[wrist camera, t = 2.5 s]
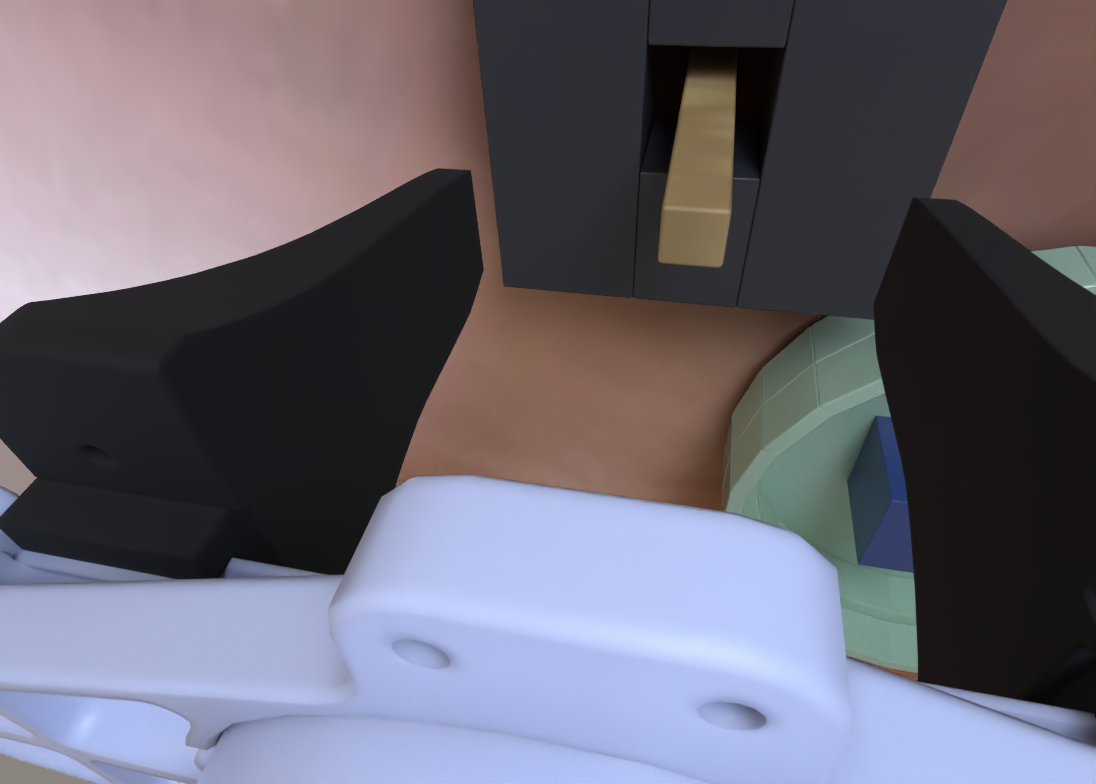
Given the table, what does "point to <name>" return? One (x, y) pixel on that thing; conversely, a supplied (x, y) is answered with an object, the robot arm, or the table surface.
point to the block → (880, 502)
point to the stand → (759, 148)
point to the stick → (701, 163)
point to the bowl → (834, 463)
